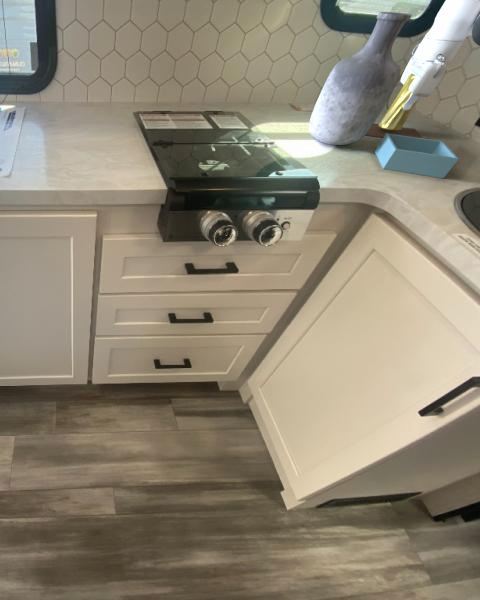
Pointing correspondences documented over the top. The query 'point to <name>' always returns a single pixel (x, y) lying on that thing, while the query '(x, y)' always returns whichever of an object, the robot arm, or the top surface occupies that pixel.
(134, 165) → the top surface
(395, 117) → the vase
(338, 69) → the vase
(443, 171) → the crate
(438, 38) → the robot arm
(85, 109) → the top surface
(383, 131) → the mat
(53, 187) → the top surface
